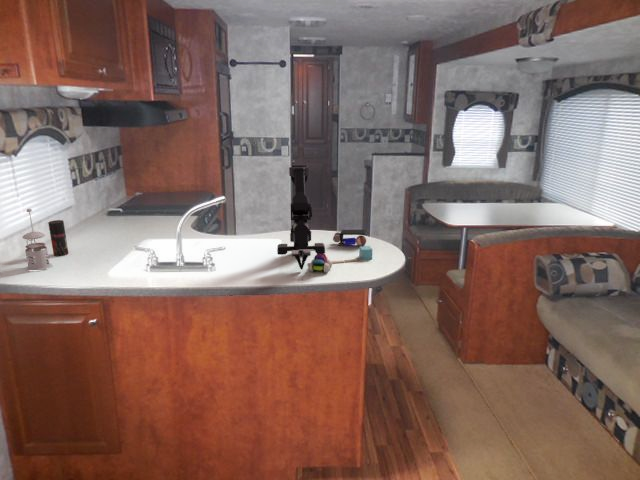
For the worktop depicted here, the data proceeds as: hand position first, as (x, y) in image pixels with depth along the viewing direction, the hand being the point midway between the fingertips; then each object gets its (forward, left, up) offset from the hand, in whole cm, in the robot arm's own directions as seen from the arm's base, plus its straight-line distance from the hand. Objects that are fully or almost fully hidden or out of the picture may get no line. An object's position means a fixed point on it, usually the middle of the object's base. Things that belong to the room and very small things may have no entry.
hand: (301, 269), depth 200 cm
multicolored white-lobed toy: (0, +8, -1) cm, 8 cm away
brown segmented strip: (-7, +16, -1) cm, 17 cm away
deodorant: (-48, -100, -1) cm, 111 cm away
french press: (-32, -105, -1) cm, 110 cm away
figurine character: (-29, +29, -1) cm, 41 cm away
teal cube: (-10, +30, -1) cm, 32 cm away
